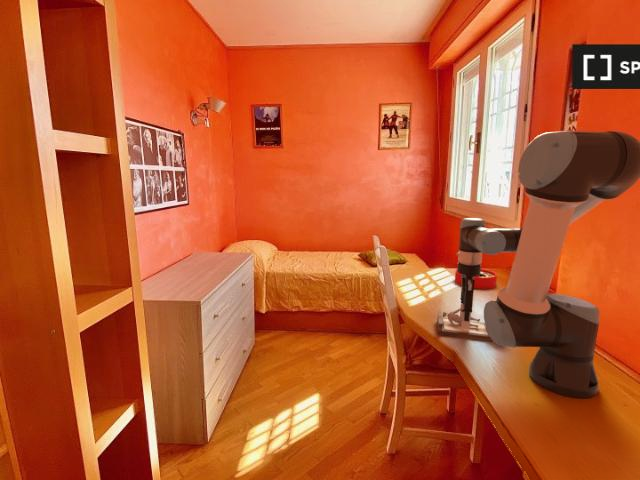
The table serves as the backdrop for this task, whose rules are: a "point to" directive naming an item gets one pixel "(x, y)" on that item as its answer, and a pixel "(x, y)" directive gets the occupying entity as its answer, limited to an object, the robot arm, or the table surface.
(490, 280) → the toy clock
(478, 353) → the table surface
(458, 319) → the soldier figure
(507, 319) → the robot arm
